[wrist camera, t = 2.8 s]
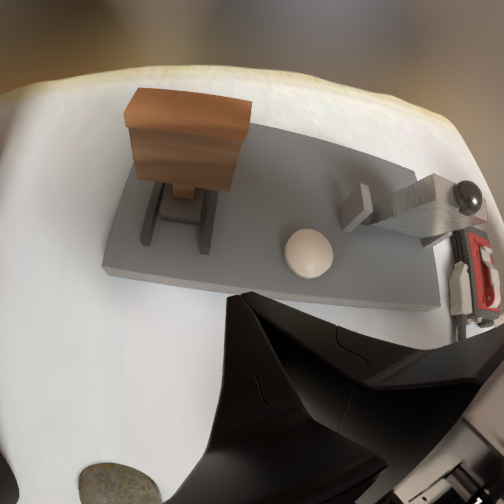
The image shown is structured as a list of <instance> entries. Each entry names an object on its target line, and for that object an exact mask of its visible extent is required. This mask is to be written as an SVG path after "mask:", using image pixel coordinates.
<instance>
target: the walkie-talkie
mask: <svg viewBox="0 0 504 504" xmlns="http://www.w3.org/2000/svg"><path fill="white" fill-rule="evenodd" d="M451 237H452V242H453V243H452V244H453V249H454V254H455V255H454V257H455V261H456V264H454V268H455V269H454V270H453V272H452V275H451V277H450V280H449V290H450V304H451V308H450V315H451V316H456V326H457V330H458V342H459V341H462V340H464V339H466V325H469V324H471V321H473V322H475V323H479V322H481V323H480V324H479V327H480V328H485V327H490V326H493V325H494V321H493V320H496V319H499V316H500V315H499V306H500V304H501V301H502V296H501V289H500V287H499V286H500V280H499V273H498V270H497V269H496V268H495V267H494V266H493V260H492V255H491V254H492V249H490V244H489V240H488V238H487V235H486V233H485V232H483V231H481V230H479V229H477V228H475V227H473V226H470V227H466V228H463V229H459V230H455V231H453V234H452V236H451Z"/></svg>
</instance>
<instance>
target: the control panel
mask: <svg viewBox="0 0 504 504" xmlns="http://www.w3.org/2000/svg"><path fill="white" fill-rule="evenodd" d="M415 182H417V179H416V176H415V173H414V171H412V170H410V169H407V168H404V167H402V166H399V165H397V164H394V163H391V162H389V161H386V160H383V159H380V158H378V157H375V156H372V155H369V154H366V153H363V152H360V151H357V150H354V149H351V148H347V147H344V146H341V145H338V144H334V143H331V142H327V141H324V140H320V139H317V138H313V137H309V136H305V135H302V134H298V133H294V132H289V131H285V130H281V129H277V128H272V127H268V126H263V125H258V124H253V123H250V124H249V130H248V133H247V137H246V140H245V142H243V143H242V146H241V150H240V154H239V157H238V161H237V165H236V168H235V172H234V176H233V179H232V183H231V187H230V191H229V192H224V191H217V190H211V189H206V190H205V195H204V201H203V206H202V212H201V217H200V223H199V225H193V224H186V223H179V222H173V221H166V220H161V218H160V208H161V204H162V200H163V196H164V193H165V189H166V185H167V183H162V182H154V181H146V180H138V179H137V174H136V169H135V163H133V166H132V169H131V171H130V174H129V177H128V179H127V182H126V185H125V188H124V191H123V194H122V197H121V200H120V203H119V206H118V209H117V212H116V215H115V219H114V222H113V225H112V229H111V232H110V236H109V239H108V243H107V247H106V250H105V254H104V258H103V262H102V267H103V269H104V270H105V271H106V272H107V274H108V275H112V276H118V277H123V278H129V279H135V280H141V281H147V282H153V283H159V284H166V285H172V286H179V287H185V288H192V289H199V290H206V291H214V292H221V293H229V294H237V295H240V294H242V293H246V292H250V291H253V292H255V293H258V294H260V295H263V296H265V297H267V298H270V299H279V300H288V301H298V302H308V303H318V304H329V305H341V306H353V307H366V308H380V309H396V310H414V311H429V310H432V309H435V308H438V307H440V306H441V304H440V294H439V286H438V278H437V271H436V264H435V258H434V252H433V246H435V245H436V244H438V243H440V242H441V241H443V240H444V239H446V238H448V237H449V236H451V235H452V231H451V232H447V233H443V234H439V235H435V236H431V237H429V238H428V239H426V240H424V239H420V238H416V237H412V236H408V235H404V234H400V233H396V232H392V231H388V230H384V229H380V228H375V227H371V226H367V225H362V224H360V223H361V222H362V221H363V220H364V219H366V218H367V217H368V216H369V215H370V214H371V213H372V212H373V209H372V204H373V203H375V202H377V201H379V200H381V199H383V198H385V197H387V196H389V195H391V194H393V193H395V192H397V191H399V190H401V189H403V188H405V187H407V186H409V185H411V184H413V183H415Z"/></svg>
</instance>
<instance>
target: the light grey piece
mask: <svg viewBox="0 0 504 504" xmlns="http://www.w3.org/2000/svg"><path fill="white" fill-rule="evenodd" d="M372 209H373V212H372V213H371V214H370V215H369V216H368V217H367V218H366V219H364V220H363V221H362V222H361V223H360V224H362V225H367V226H371V227H375V228H380V229H384V230H388V231H392V232H396V233H400V234H404V235H408V236H412V237H416V238H420V239H424V240H426V239H428V238H429V237H431V236H435V235H439V234H443V233H447V232H451V231H455V230H459V229H463V228H466V227H470V226H474V225H478V224H481V223H485V222H488V221H487V210H486V201H485V199H484V198H482V193H481V191H480V189H479V187H478V186H477V185H476V184H475V183H473V182H471V181H461V182H459V183H457V184H455V183H453V182H451V181H449V180H447V179H445V178H443V177H441V176H438V175H436V174H434V173H433V174H431V175H429V176H427V177H425V178H423V179H421V180H419V181H417V182H415V183H413V184H411V185H409V186H407V187H405V188H403V189H401V190H399V191H397V192H395V193H393V194H391V195H389V196H387V197H385V198H383V199H381V200H379V201H377V202H375V203H373V204H372Z"/></svg>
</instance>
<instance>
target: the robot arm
mask: <svg viewBox="0 0 504 504" xmlns="http://www.w3.org/2000/svg"><path fill="white" fill-rule="evenodd" d="M478 497H479V498H480V499H481V500H482V501H483V502H481V503H480V504H504V323H503V324H501V325H499V326H497V327H495V328H493V329H491V330H489V331H486V332H484V333H481V334H478V335H476V336H473V337H470V338H467V339H464V340H462V341H459V342H456V343H453V344H450V345H446V346H443V347H440V348H437V349H431V350H420V349H414V348H410V347H406V346H402V345H398V344H394V343H390V342H387V341H383V340H379V339H376V338H372V337H369V336H365V335H362V334H359V333H356V332H353V331H351V330H348V329H345V328H343V327H340V326H336V325H335V324H332V323H329V322H327V321H324V320H322V319H319V318H317V317H314V316H312V315H309V314H307V313H304V312H302V311H299V310H297V309H294V308H292V307H289V306H287V305H284V304H282V303H279V302H277V301H275V300H272V299H270V298H267V297H265V296H263V295H260V294H258V293H255V292H253V291H250V292H246V293H242V294H240V295H234V296H230V297H227V302H226V319H225V337H224V357H223V374H222V384H221V390H220V396H219V401H218V405H217V409H216V413H215V417H214V422H213V426H212V430H211V434H210V438H209V441H208V444H207V447H206V450H205V452H204V454H203V456H202V458H201V459H200V460H199V462H198V463H197V465H196V466H195V467H194V469H193V470H192V471H191V473H190V474H189V475H188V477H187V478H186V479H185V481H184V482H183V483H182V485H181V486H180V487H179V489H178V490H177V491H176V493H175V494H174V495H173V496H172V497H171V498H170V499H168V500H167V501H165V502H164V503H162V504H475V503H476V502H477V501H478V500H477V498H478Z"/></svg>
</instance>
